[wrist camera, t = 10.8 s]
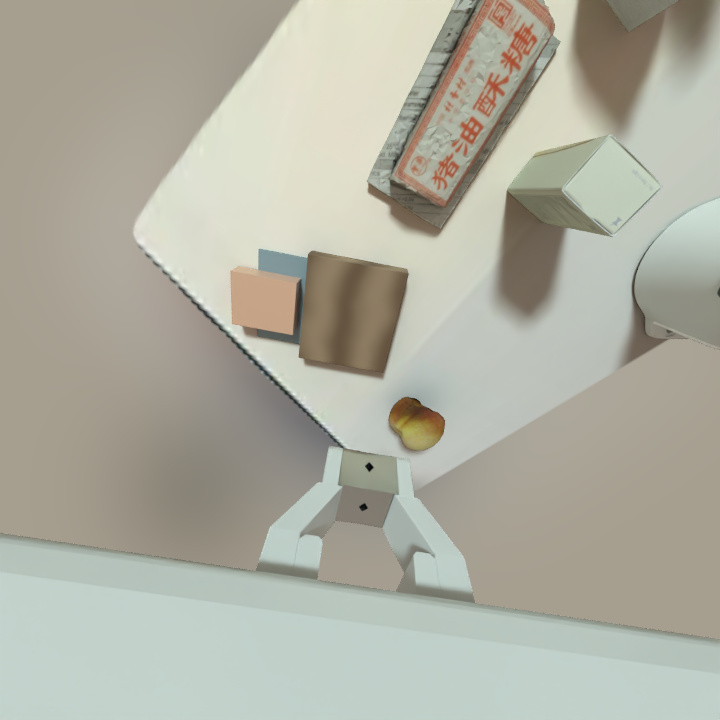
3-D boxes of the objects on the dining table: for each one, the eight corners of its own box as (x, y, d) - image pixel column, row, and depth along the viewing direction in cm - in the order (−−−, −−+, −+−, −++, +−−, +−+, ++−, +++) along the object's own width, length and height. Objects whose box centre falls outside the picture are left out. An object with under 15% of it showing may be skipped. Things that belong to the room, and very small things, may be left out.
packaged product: (487, -72, 22) (586, 21, 24) (469, -29, 26) (555, 46, 28) (364, 180, 30) (446, 234, 32) (365, 182, 34) (438, 229, 36)
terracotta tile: (301, 278, 39) (296, 283, 37) (297, 327, 42) (292, 335, 40) (238, 266, 39) (230, 270, 37) (239, 317, 42) (232, 324, 40)
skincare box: (575, 188, 33) (668, 187, 22) (542, 225, 35) (614, 240, 24) (534, 150, 32) (614, 129, 21) (502, 190, 34) (560, 190, 23)
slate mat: (319, 260, 38) (318, 260, 38) (309, 344, 44) (309, 345, 44) (259, 248, 38) (258, 249, 38) (258, 335, 44) (257, 336, 43)
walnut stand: (406, 269, 38) (408, 273, 36) (382, 363, 45) (383, 372, 43) (312, 250, 38) (308, 254, 35) (302, 349, 44) (298, 357, 42)
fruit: (391, 383, 47) (393, 417, 40) (445, 388, 47) (457, 423, 40) (384, 421, 50) (386, 458, 43) (434, 426, 50) (444, 464, 43)
